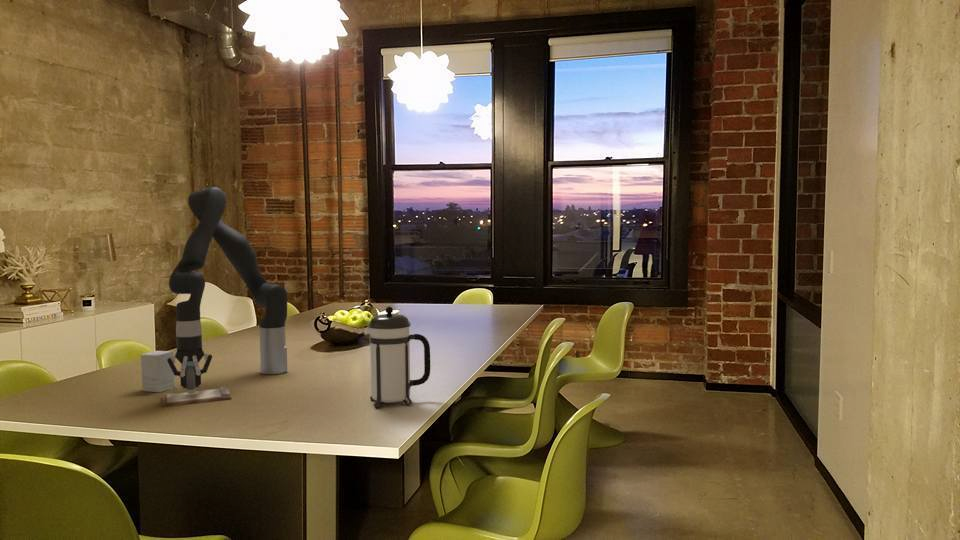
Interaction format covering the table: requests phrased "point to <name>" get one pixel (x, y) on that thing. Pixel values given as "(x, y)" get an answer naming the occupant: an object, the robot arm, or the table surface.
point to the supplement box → (157, 371)
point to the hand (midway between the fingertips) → (190, 386)
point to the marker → (190, 377)
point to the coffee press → (393, 358)
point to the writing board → (196, 397)
